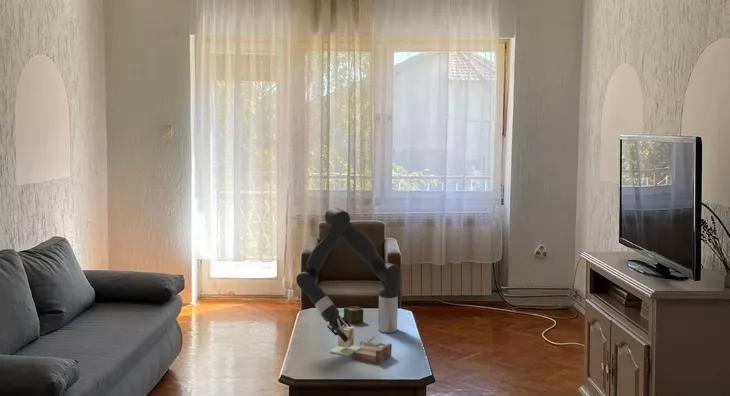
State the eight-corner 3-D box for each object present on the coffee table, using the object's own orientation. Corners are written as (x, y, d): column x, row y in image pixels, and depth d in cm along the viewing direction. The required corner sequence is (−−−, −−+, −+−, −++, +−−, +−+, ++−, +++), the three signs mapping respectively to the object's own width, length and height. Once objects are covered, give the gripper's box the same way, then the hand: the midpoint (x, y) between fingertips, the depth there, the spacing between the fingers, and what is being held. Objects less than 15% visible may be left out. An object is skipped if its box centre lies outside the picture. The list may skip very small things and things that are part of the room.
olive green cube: (343, 321, 371) (344, 307, 371) (355, 319, 375) (356, 306, 374) (350, 325, 365) (351, 311, 365) (363, 323, 369) (363, 309, 368)
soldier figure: (385, 355, 320) (359, 346, 320) (382, 360, 324) (357, 351, 324) (389, 340, 325) (364, 331, 325) (386, 344, 329) (361, 336, 328)
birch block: (343, 343, 325) (344, 325, 324) (353, 345, 323) (353, 327, 322) (338, 346, 321) (338, 328, 320) (348, 347, 318) (348, 330, 318)
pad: (342, 345, 330) (342, 343, 330) (362, 349, 325) (362, 347, 325) (329, 352, 319) (329, 350, 319) (349, 356, 314) (349, 354, 314)
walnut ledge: (365, 351, 322) (366, 339, 321) (391, 356, 316) (391, 344, 315) (352, 358, 311) (353, 346, 311) (378, 364, 305) (379, 351, 305)
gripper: (323, 307, 317) (347, 338, 313) (340, 300, 330) (362, 330, 325) (313, 317, 320) (336, 348, 316) (329, 310, 333) (352, 340, 328)
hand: (349, 339), depth 321 cm, fingers closed on birch block, 4 cm apart
